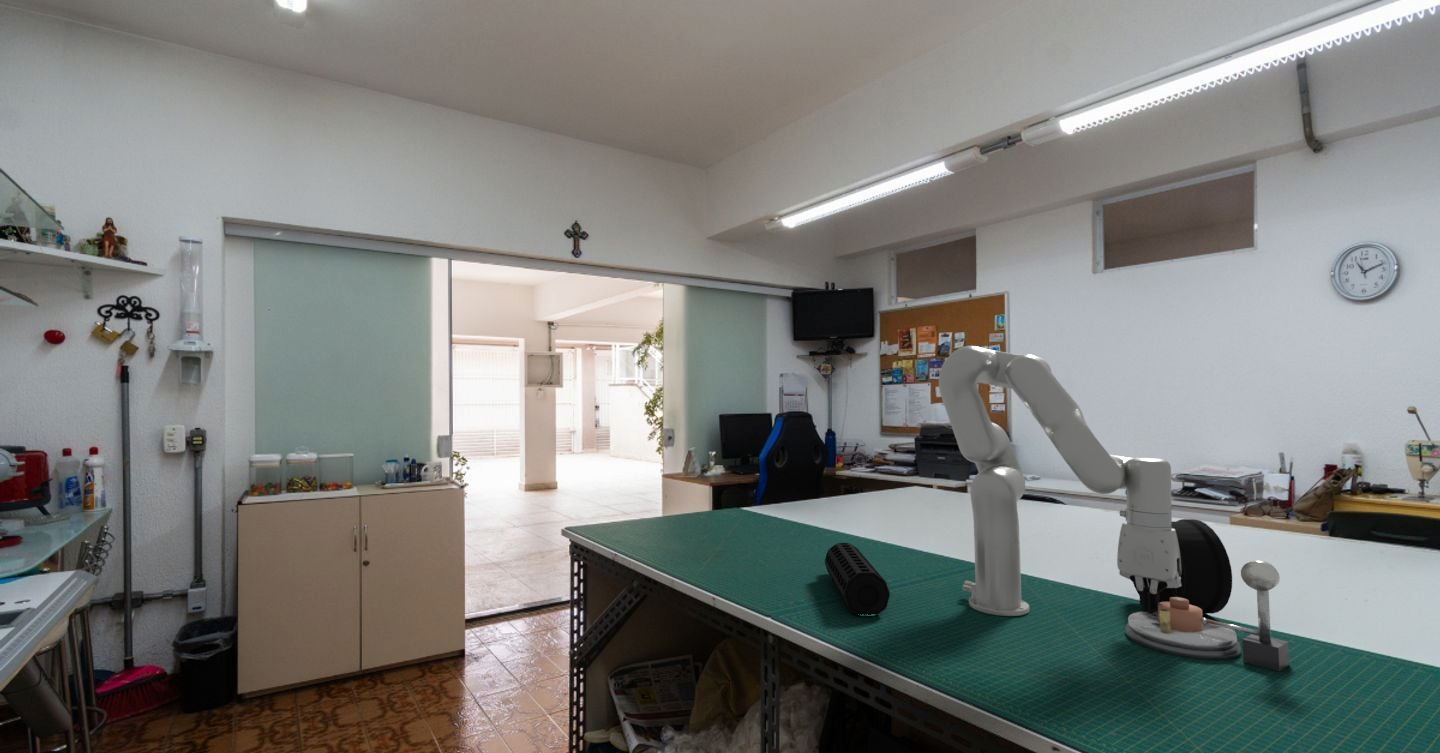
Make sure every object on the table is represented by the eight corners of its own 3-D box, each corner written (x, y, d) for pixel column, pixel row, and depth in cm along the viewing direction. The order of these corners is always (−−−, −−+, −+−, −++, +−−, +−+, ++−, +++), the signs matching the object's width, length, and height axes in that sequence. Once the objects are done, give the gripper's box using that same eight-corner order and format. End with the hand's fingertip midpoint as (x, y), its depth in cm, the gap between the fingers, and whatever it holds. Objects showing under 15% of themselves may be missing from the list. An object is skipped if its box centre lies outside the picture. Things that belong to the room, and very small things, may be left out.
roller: (816, 566, 176) (827, 531, 177) (850, 577, 176) (861, 542, 177) (839, 611, 138) (852, 566, 139) (883, 625, 138) (896, 580, 139)
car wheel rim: (1234, 627, 131) (1230, 528, 131) (1182, 626, 131) (1178, 528, 132) (1173, 597, 151) (1169, 512, 151) (1128, 596, 151) (1125, 512, 152)
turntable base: (1108, 637, 126) (1108, 630, 126) (1150, 619, 136) (1149, 613, 136) (1218, 667, 111) (1218, 660, 111) (1256, 645, 121) (1255, 638, 121)
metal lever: (1196, 649, 119) (1192, 552, 120) (1207, 643, 122) (1203, 548, 122) (1279, 671, 109) (1274, 565, 110) (1289, 664, 112) (1284, 561, 113)
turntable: (1112, 629, 126) (1111, 601, 126) (1151, 613, 135) (1150, 586, 135) (1216, 657, 111) (1214, 625, 112) (1251, 637, 121) (1250, 607, 121)
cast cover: (1152, 624, 124) (1151, 598, 124) (1166, 617, 128) (1165, 591, 128) (1195, 634, 118) (1193, 607, 119) (1208, 626, 123) (1207, 600, 123)
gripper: (1100, 515, 132) (1101, 604, 132) (1184, 528, 120) (1185, 626, 119) (1117, 512, 137) (1118, 598, 136) (1200, 524, 124) (1201, 618, 124)
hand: (1149, 611), depth 128 cm, fingers closed
